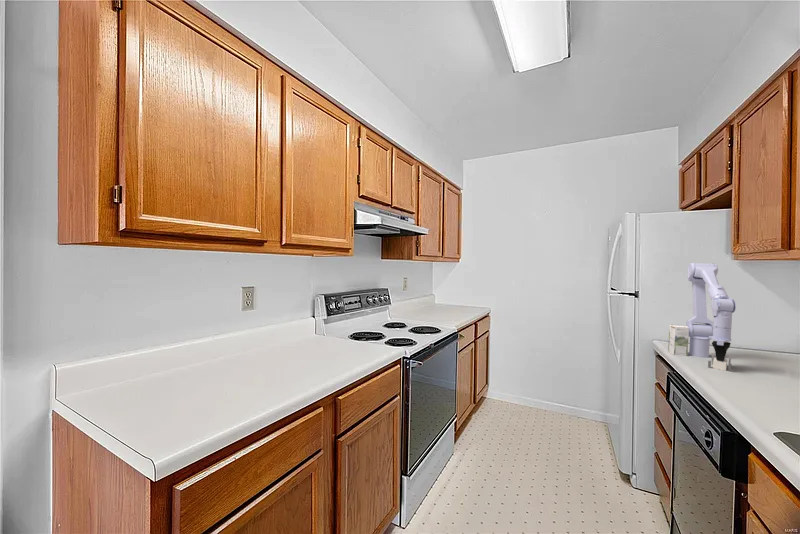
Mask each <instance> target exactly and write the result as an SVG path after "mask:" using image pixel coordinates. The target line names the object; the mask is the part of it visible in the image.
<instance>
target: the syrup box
mask: <svg viewBox="0 0 800 534" xmlns="http://www.w3.org/2000/svg"><path fill="white" fill-rule="evenodd" d="M668 331H669V332H668V347H667V353H670V354H671V355H673V356H681V357H688V354H689V352H688V351H689V338H690V337H689V327H687V326H686V325H685V324H670V323H669V329H668Z"/></svg>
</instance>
